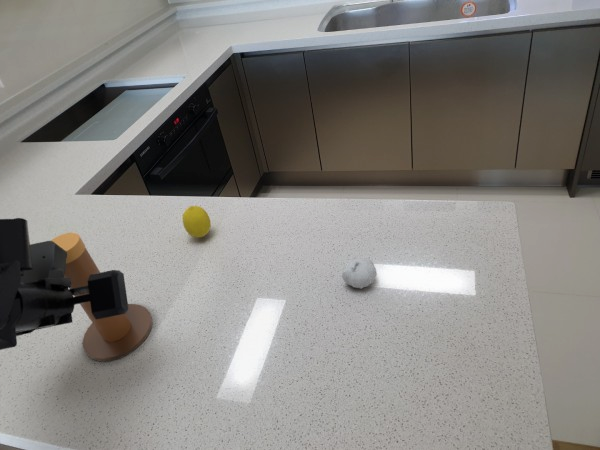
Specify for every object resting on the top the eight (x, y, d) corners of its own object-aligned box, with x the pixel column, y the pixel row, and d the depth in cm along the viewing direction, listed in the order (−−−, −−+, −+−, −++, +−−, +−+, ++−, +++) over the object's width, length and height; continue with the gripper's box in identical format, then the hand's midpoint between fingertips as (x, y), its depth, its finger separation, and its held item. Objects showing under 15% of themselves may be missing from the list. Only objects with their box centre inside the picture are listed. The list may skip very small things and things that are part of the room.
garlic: (354, 299, 78) (351, 277, 74) (338, 280, 82) (334, 258, 78) (384, 284, 79) (382, 262, 76) (367, 266, 83) (364, 245, 80)
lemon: (212, 243, 97) (201, 212, 92) (187, 246, 97) (174, 216, 92) (216, 227, 101) (206, 197, 96) (192, 230, 102) (180, 200, 97)
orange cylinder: (130, 337, 78) (75, 249, 66) (99, 345, 78) (39, 258, 66) (132, 315, 82) (82, 228, 70) (104, 323, 82) (48, 237, 70)
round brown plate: (99, 374, 74) (97, 371, 74) (75, 335, 82) (72, 332, 82) (164, 329, 80) (162, 326, 79) (135, 296, 87) (133, 293, 87)
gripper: (89, 227, 58) (138, 241, 73) (-55, 257, 58) (24, 264, 73) (101, 316, 56) (148, 310, 72) (-47, 346, 56) (32, 334, 72)
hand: (87, 303), depth 72 cm, fingers open, 9 cm apart
